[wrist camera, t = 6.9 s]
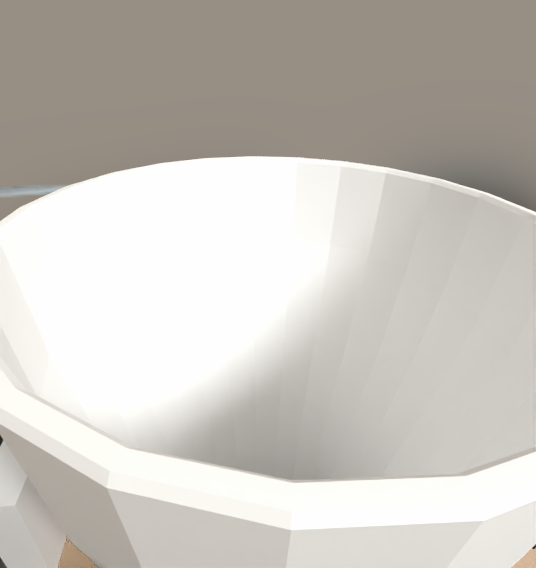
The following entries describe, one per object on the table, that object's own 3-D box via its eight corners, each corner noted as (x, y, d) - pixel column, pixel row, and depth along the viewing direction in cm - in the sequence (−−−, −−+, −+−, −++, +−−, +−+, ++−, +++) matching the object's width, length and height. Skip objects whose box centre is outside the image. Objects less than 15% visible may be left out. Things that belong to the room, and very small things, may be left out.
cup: (494, 752, 11) (977, 411, 4) (84, 889, 9) (-548, 719, 2) (351, 432, 19) (413, 153, 12) (131, 465, 17) (59, 157, 10)
